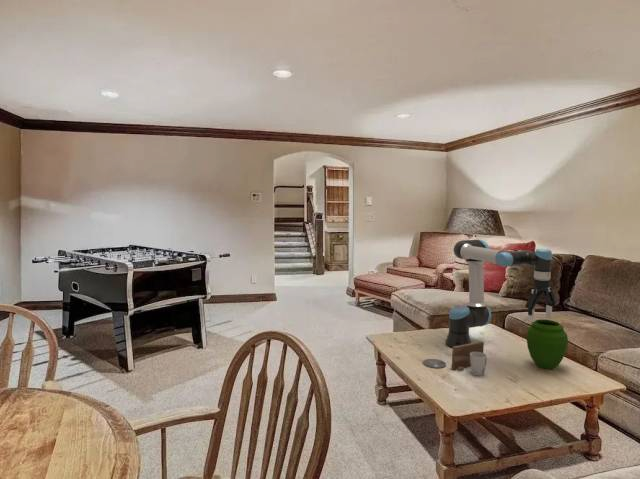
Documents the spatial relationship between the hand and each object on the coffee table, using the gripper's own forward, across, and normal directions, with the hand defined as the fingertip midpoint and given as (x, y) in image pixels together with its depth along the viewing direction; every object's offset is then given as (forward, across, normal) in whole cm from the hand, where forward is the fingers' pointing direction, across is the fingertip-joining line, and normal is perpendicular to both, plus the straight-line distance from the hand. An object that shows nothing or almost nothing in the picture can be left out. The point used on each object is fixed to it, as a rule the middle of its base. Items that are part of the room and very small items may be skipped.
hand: (539, 319), depth 209 cm
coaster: (+27, -43, +30) cm, 59 cm away
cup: (+27, -31, +10) cm, 43 cm away
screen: (+27, -29, +19) cm, 44 cm away
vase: (+27, +8, +1) cm, 28 cm away
